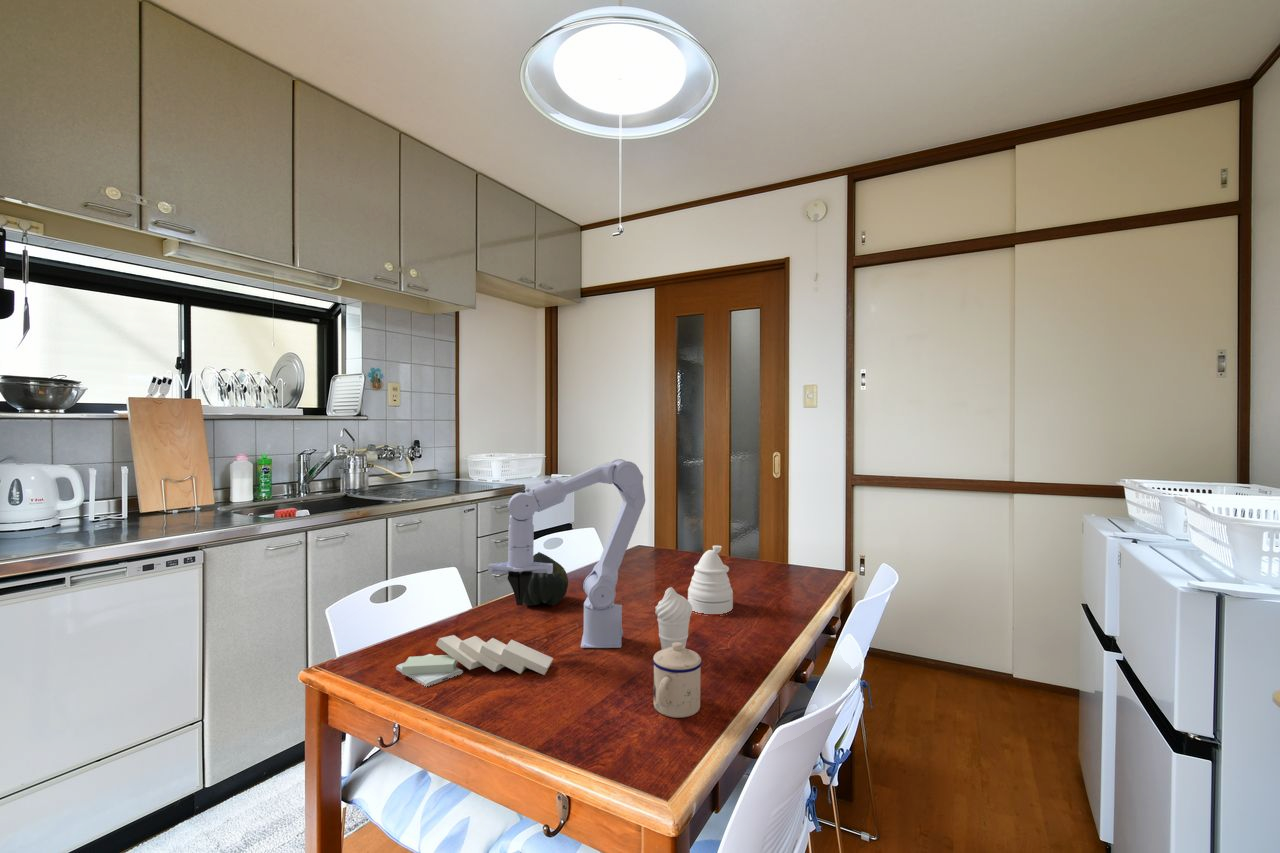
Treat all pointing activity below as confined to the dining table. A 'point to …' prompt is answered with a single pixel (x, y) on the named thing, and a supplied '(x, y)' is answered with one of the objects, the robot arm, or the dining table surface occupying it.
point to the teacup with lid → (677, 681)
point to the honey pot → (711, 585)
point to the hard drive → (431, 675)
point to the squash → (546, 584)
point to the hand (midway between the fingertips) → (520, 604)
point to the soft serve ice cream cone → (673, 618)
